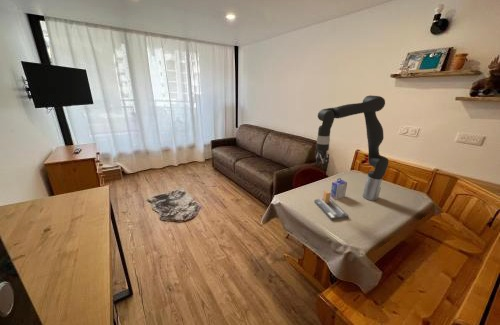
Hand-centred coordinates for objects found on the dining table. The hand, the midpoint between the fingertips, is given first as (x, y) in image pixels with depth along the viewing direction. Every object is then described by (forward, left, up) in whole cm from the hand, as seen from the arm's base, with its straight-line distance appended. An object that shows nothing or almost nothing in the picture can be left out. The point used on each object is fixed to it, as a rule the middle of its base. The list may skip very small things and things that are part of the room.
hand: (320, 166), depth 132 cm
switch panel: (-7, +8, -29) cm, 31 cm away
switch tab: (-7, +2, -27) cm, 28 cm away
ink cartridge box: (-22, -6, -29) cm, 37 cm away
